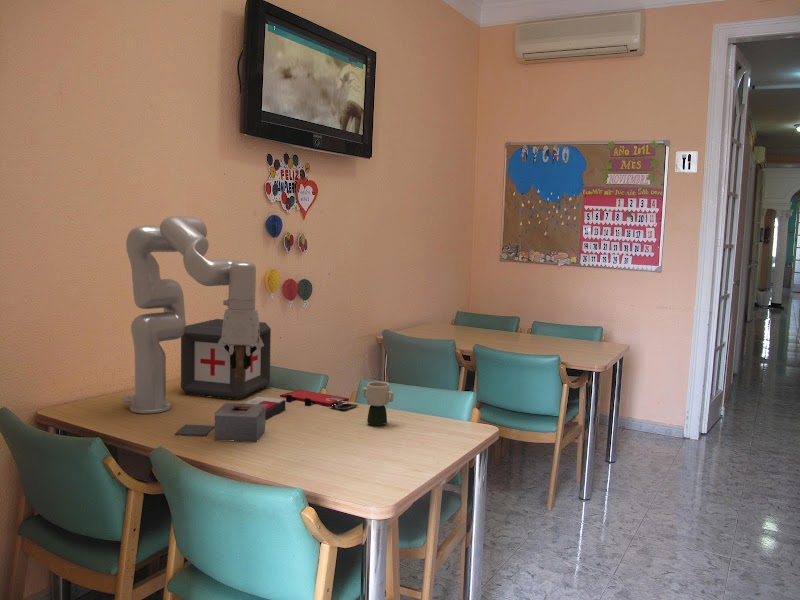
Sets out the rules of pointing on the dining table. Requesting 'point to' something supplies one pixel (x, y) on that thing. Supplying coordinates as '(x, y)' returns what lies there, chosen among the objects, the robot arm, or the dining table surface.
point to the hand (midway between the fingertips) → (240, 367)
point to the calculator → (269, 405)
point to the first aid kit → (220, 363)
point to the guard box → (240, 422)
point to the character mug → (377, 401)
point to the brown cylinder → (240, 363)
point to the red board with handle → (317, 399)
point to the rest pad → (194, 430)
